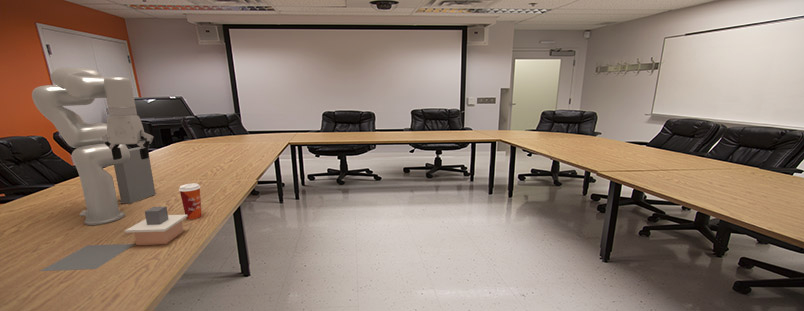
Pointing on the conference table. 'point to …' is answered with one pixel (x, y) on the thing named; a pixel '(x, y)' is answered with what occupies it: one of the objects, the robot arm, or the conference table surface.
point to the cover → (156, 221)
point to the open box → (158, 236)
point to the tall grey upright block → (134, 178)
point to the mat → (88, 257)
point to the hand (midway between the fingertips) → (131, 158)
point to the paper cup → (191, 200)
